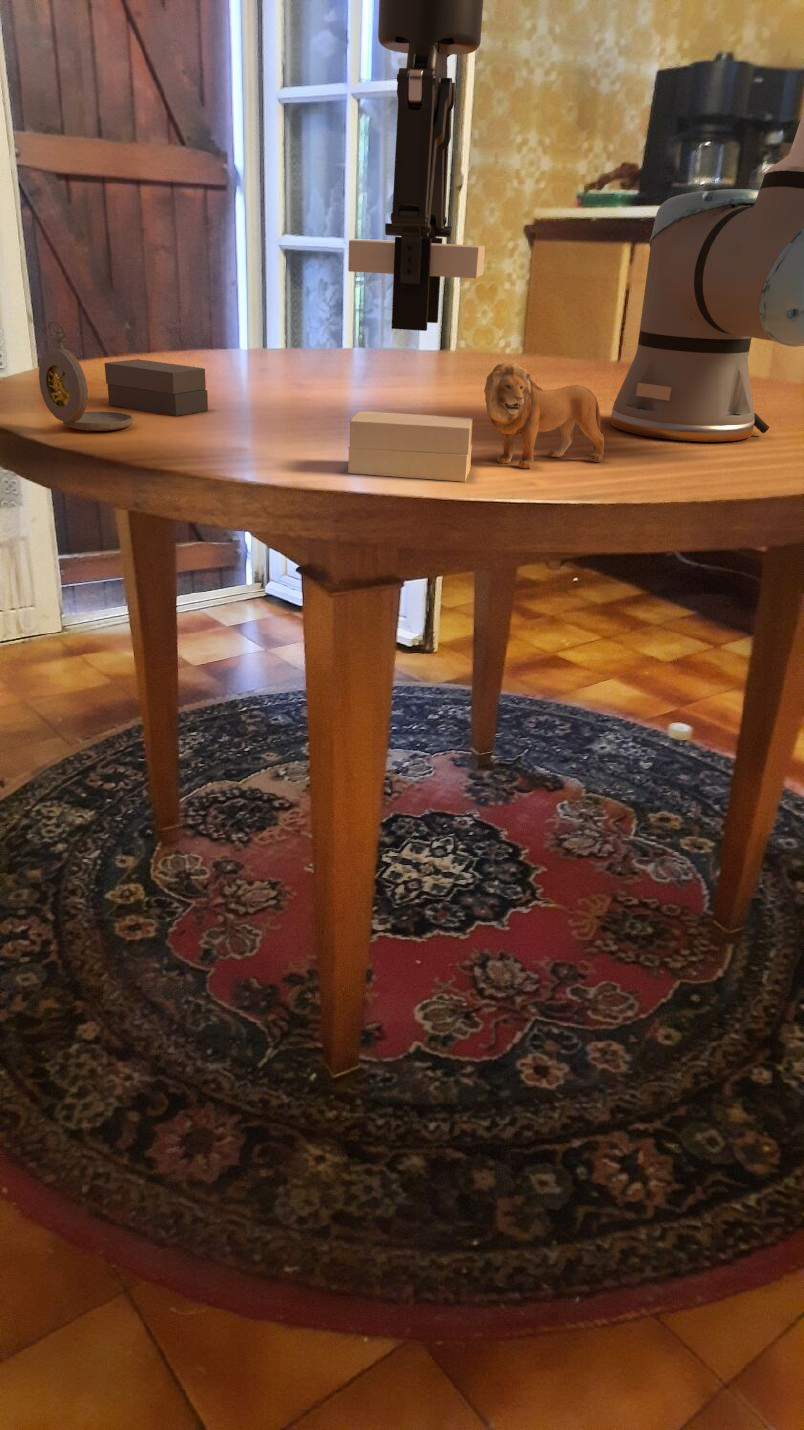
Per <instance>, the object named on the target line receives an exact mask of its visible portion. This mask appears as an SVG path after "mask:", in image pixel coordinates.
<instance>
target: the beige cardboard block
mask: <svg viewBox="0 0 804 1430" xmlns="http://www.w3.org/2000/svg"><path fill="white" fill-rule="evenodd" d="M473 423H474V419H473V417H463V416H462V417H461V416H449V415H448V416H447V415H446V416H444V415H431V414H430V415H429V414H412V413H396V412H381V411H380V412H379V411H364V410H363V411H362V410H359V411H357V412H356V414H355V415H354V416H353V417H352V418H351V419H350V420H349V446H348V466H347V467H348V470H347V473H348V474H354V475H369V476H380V477H381V476H382V477H393V478H395V477H396V478H410V479H423V480H436V481H452V482H461V483H462V482H464V483H465V482H466V481H467V478H468V476H469V474H470V472H471V464H472V450H473V444H472V436H473Z"/></svg>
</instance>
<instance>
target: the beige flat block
mask: <svg viewBox="0 0 804 1430" xmlns="http://www.w3.org/2000/svg"><path fill="white" fill-rule="evenodd" d="M394 251H395V240H378V239H377V240H376V239H349V240H348V262H347V265H348V266H347V267H348V269H347V271H348V272H352V273H366V274H367V273H371V274H388V275H394ZM485 257H486V246H485V245H474V244H473V245H472V244H459V243H458V244H457V243H455V244H454V243H442V244H438V243H432V244H431V263H430V276H440V278H441V277H444V278H458V279H479V278H480V277H482V276H483V275H484V273H485V271H484V270H485Z"/></svg>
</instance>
